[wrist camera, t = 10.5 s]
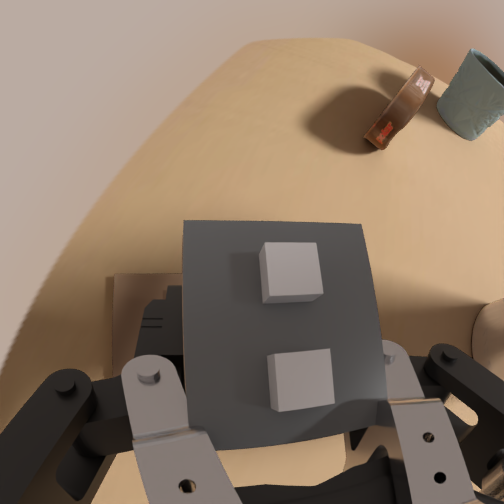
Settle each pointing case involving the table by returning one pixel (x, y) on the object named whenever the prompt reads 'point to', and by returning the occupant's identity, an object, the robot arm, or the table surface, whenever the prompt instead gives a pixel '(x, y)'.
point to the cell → (279, 331)
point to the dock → (133, 310)
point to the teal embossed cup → (473, 96)
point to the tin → (400, 108)
